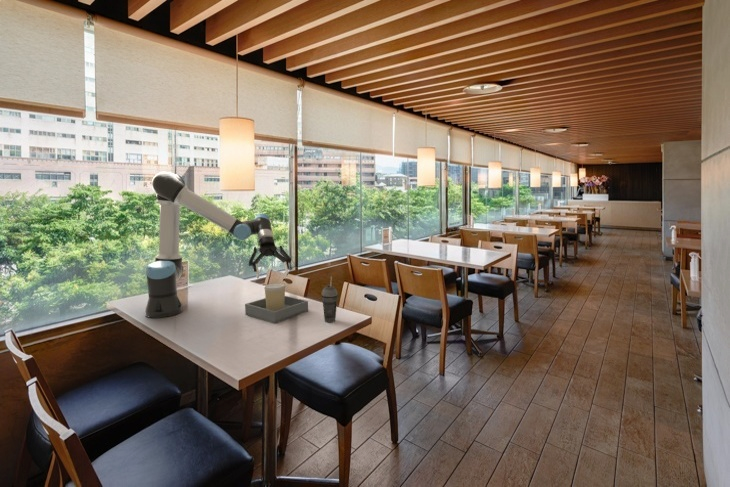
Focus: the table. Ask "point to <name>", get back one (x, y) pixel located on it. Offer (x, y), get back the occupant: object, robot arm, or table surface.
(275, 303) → the coffee cup
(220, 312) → the table surface
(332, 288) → the beverage cup
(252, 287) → the table surface
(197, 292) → the table surface
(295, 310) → the grey bin
